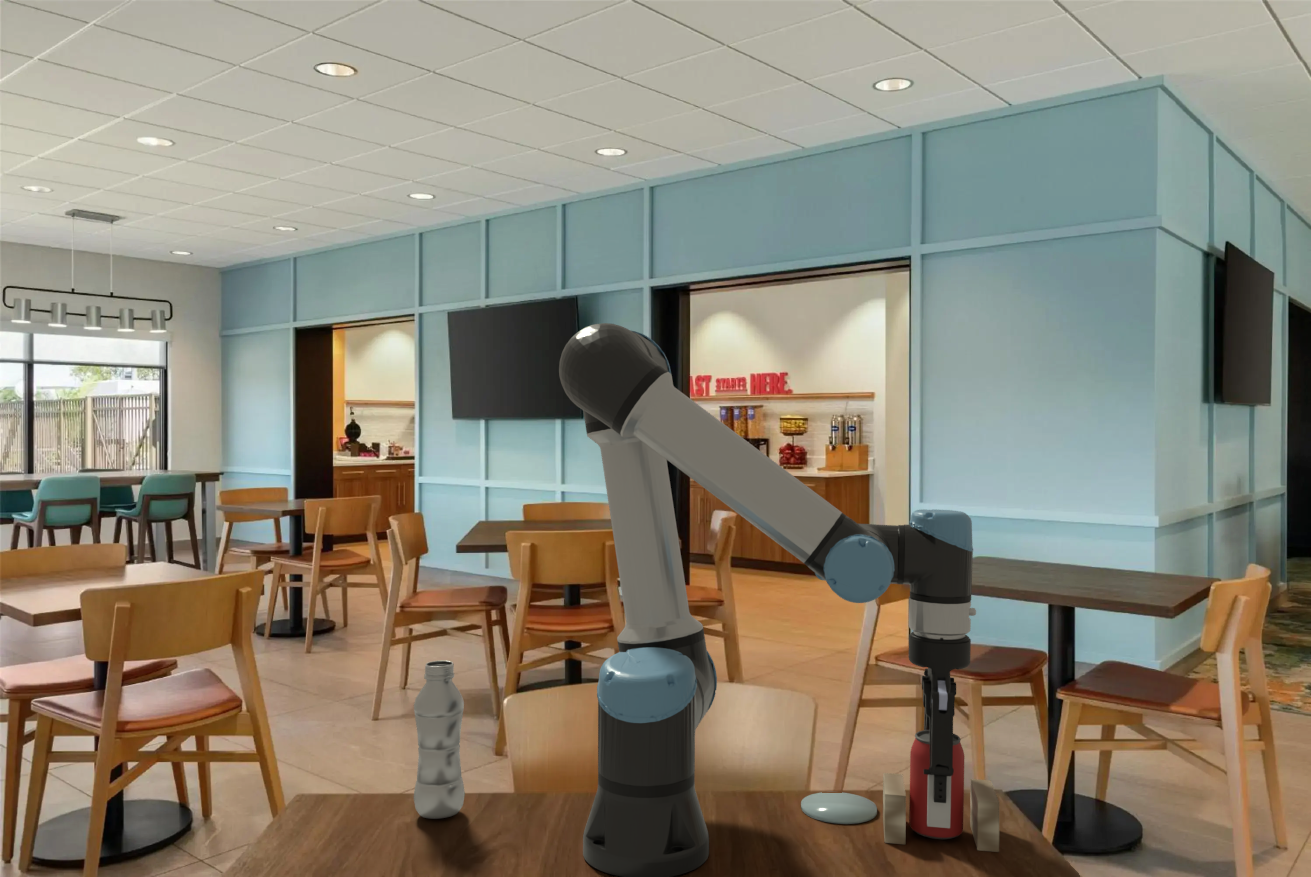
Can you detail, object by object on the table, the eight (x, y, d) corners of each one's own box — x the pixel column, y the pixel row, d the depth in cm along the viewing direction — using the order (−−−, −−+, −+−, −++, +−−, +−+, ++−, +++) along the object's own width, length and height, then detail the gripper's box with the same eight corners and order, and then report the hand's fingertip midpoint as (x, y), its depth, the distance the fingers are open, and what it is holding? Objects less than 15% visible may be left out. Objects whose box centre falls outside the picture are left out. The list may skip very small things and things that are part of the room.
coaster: (799, 820, 133) (799, 816, 133) (802, 794, 142) (803, 789, 142) (877, 826, 131) (877, 822, 131) (876, 799, 141) (876, 794, 141)
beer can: (965, 843, 125) (967, 746, 124) (910, 838, 126) (911, 741, 126) (960, 823, 131) (962, 730, 131) (907, 818, 132) (909, 726, 132)
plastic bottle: (475, 812, 135) (475, 661, 135) (438, 829, 129) (439, 671, 129) (439, 802, 138) (440, 655, 138) (402, 818, 133) (403, 665, 133)
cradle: (884, 842, 126) (884, 794, 126) (882, 818, 134) (883, 773, 134) (998, 852, 123) (999, 802, 123) (990, 826, 131) (990, 780, 131)
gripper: (980, 651, 118) (976, 849, 118) (962, 620, 137) (959, 791, 137) (913, 647, 119) (909, 843, 120) (905, 617, 138) (902, 786, 139)
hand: (936, 815), depth 128 cm, fingers closed on beer can, 7 cm apart
